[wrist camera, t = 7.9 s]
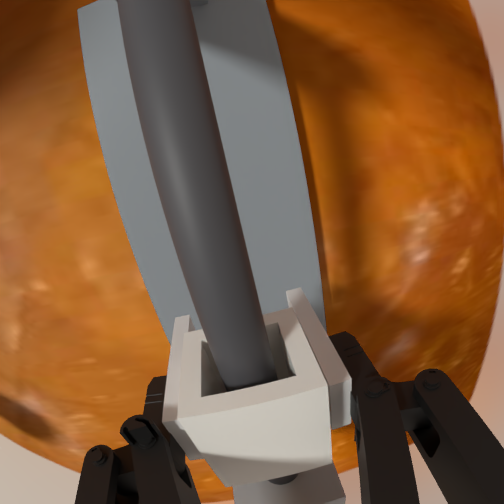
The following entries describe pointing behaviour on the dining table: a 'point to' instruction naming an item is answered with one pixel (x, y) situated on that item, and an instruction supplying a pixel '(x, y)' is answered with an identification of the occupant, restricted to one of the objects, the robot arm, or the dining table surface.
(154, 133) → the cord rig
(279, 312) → the sleeve
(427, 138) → the dining table surface
